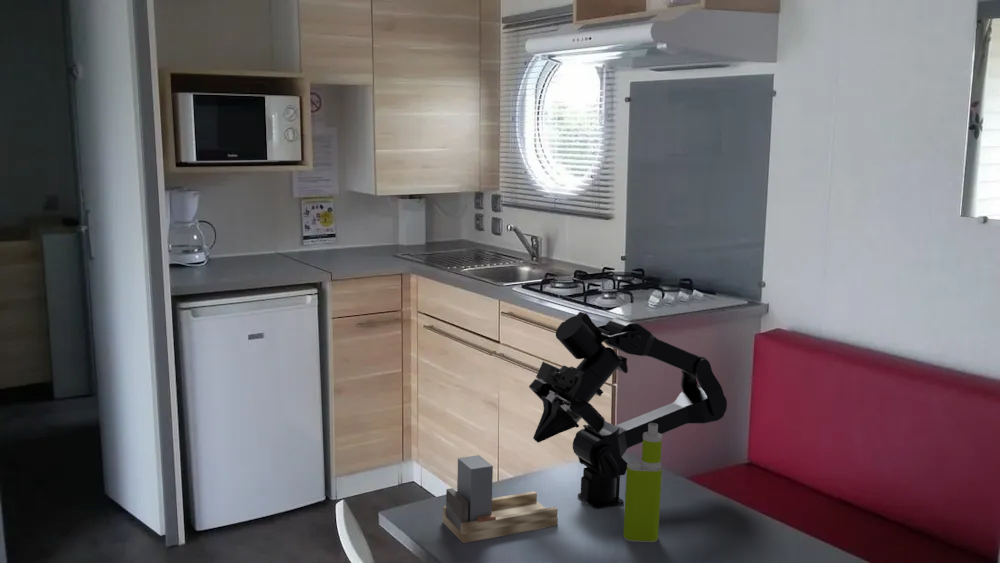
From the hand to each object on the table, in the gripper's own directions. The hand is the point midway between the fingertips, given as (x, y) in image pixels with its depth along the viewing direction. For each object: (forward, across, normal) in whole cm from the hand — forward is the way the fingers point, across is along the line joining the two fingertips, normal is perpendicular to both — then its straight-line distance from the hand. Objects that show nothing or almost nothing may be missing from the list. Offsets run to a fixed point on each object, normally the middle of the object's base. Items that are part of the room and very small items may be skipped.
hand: (535, 440), depth 157 cm
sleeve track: (+15, +2, +4) cm, 16 cm away
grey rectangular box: (+17, +2, -1) cm, 17 cm away
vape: (+1, +16, +18) cm, 24 cm away
